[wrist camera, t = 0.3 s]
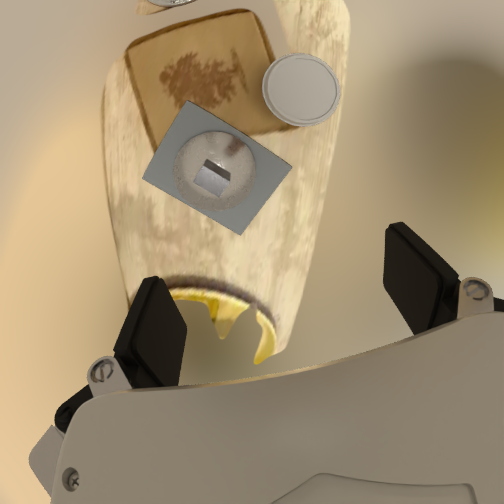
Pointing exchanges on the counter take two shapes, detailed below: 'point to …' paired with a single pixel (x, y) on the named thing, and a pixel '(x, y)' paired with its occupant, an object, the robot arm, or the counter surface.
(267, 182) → the mat
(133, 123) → the counter surface
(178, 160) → the lid
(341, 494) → the robot arm
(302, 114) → the disposable coffee cup
